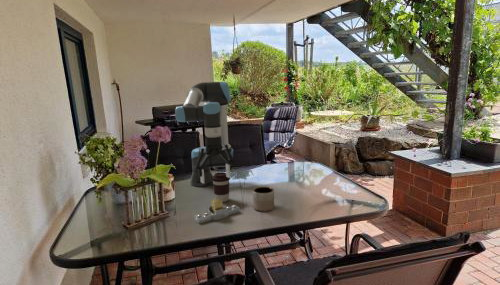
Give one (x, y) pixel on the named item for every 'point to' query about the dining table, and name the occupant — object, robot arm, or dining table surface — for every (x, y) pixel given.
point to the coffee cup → (221, 186)
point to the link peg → (216, 204)
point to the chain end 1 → (208, 215)
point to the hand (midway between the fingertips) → (215, 180)
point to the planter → (263, 198)
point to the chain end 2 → (229, 210)
